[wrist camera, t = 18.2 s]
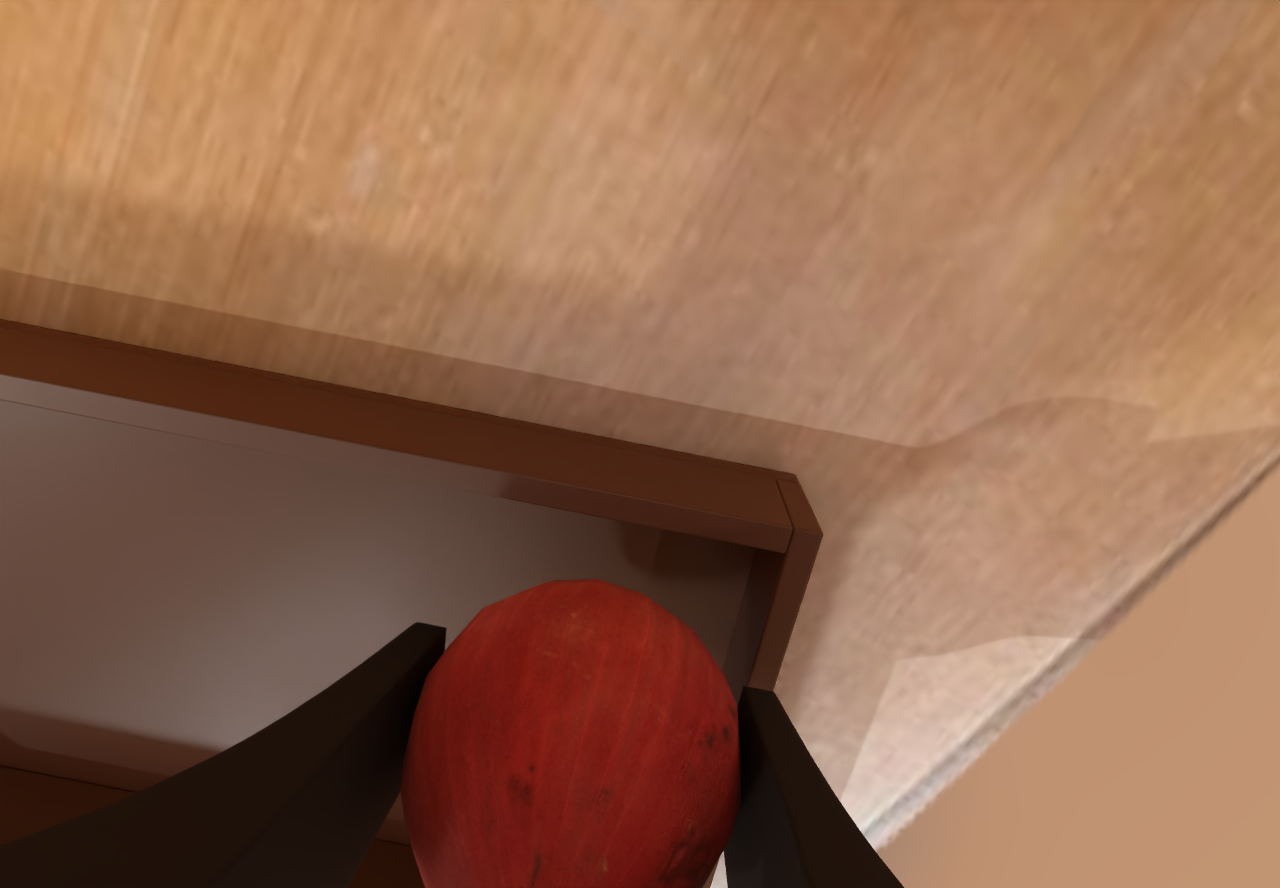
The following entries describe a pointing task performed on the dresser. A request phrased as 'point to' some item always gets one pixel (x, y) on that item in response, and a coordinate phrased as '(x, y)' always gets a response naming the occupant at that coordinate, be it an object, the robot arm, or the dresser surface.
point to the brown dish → (313, 555)
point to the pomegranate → (572, 747)
